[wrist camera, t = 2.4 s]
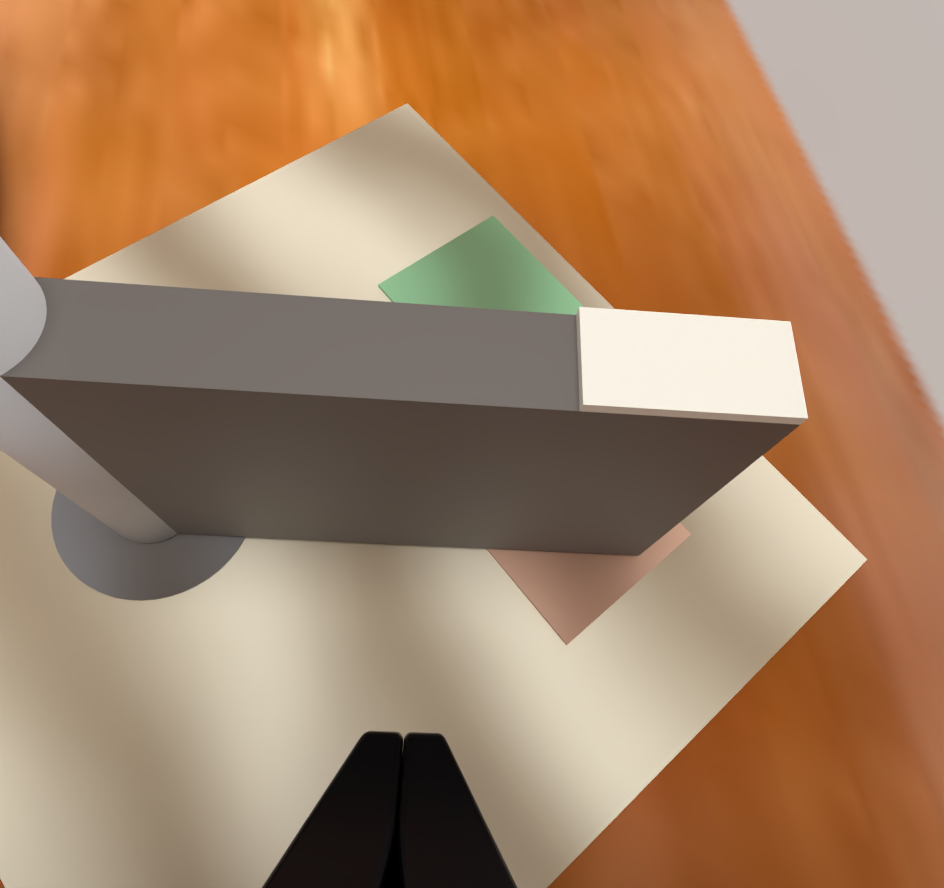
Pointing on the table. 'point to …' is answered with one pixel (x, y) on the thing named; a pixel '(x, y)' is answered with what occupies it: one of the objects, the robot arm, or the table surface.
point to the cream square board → (363, 591)
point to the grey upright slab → (382, 414)
